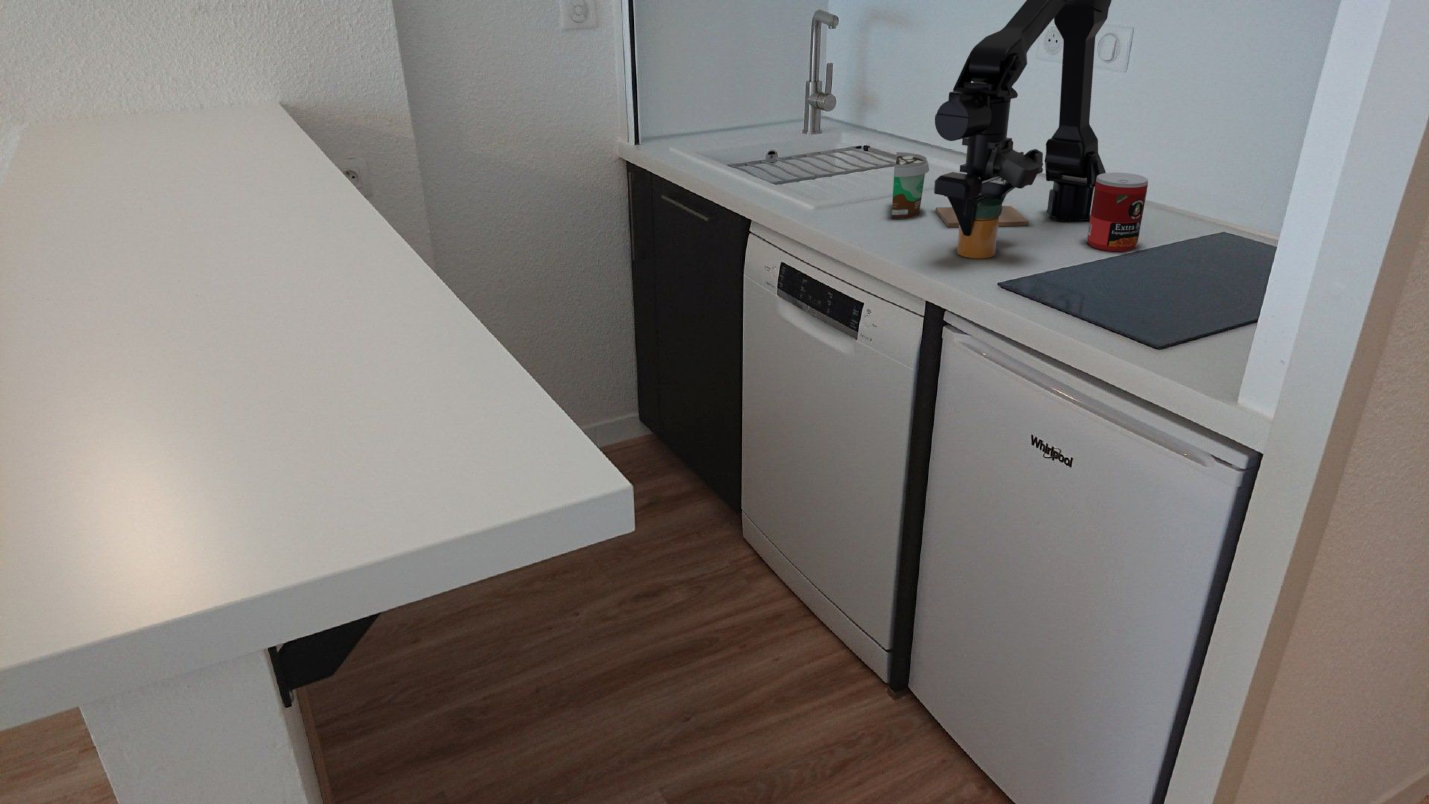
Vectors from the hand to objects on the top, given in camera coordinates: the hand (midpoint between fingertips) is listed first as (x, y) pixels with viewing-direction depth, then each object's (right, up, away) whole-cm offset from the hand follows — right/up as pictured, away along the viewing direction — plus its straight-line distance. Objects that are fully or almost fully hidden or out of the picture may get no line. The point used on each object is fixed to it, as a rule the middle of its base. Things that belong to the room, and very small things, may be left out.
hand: (977, 231), depth 152 cm
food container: (-6, +8, +25) cm, 27 cm away
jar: (0, -3, +2) cm, 4 cm away
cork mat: (+6, +6, +20) cm, 22 cm away
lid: (0, +4, -2) cm, 4 cm away
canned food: (+23, -2, +4) cm, 23 cm away
